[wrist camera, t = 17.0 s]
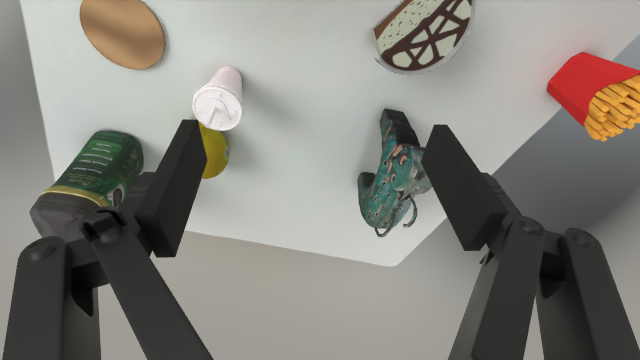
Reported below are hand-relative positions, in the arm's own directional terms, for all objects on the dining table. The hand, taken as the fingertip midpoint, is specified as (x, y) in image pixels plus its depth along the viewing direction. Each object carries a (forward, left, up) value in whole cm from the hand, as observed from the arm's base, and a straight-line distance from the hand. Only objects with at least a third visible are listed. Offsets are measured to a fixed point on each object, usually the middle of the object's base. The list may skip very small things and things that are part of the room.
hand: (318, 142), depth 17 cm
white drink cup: (+10, -11, -31) cm, 34 cm away
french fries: (+8, +44, -31) cm, 54 cm away
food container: (+1, +15, -31) cm, 34 cm away
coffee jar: (+24, -32, -31) cm, 51 cm away
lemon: (+21, -16, -31) cm, 41 cm away
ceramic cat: (+23, +15, -31) cm, 41 cm away
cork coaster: (+4, -24, -31) cm, 39 cm away
